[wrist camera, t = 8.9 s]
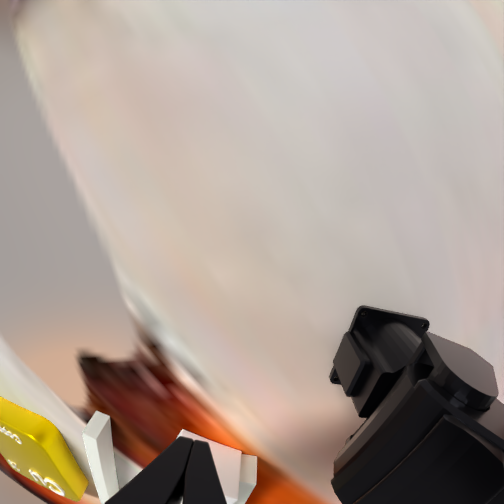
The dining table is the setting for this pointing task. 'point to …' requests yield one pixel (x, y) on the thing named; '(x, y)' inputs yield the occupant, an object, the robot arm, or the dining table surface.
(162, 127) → the dining table surface
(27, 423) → the element tile
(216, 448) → the milk
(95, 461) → the u rest
